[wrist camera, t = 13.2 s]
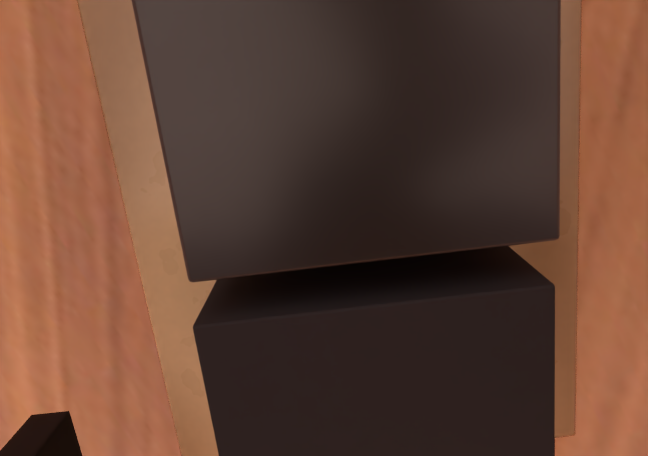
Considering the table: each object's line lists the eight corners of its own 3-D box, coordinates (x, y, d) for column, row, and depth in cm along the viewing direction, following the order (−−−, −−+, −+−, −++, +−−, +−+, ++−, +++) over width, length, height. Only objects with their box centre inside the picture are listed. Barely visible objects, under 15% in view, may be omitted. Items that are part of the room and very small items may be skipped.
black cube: (463, 206, 14) (556, 284, 8) (474, 431, 15) (555, 611, 10) (239, 232, 14) (191, 325, 8) (276, 452, 16) (255, 641, 10)
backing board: (560, -155, 12) (822, -413, 6) (558, 412, 17) (709, 617, 10) (74, -91, 13) (-176, -274, 6) (194, 452, 17) (119, 676, 11)
